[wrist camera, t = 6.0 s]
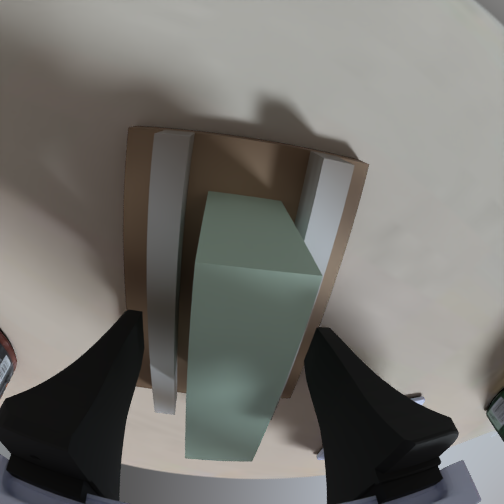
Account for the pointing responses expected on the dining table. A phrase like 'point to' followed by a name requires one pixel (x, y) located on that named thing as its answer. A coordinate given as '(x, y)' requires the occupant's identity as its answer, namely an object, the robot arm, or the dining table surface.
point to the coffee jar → (497, 414)
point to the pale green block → (243, 322)
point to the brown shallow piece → (190, 221)
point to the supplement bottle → (6, 363)
